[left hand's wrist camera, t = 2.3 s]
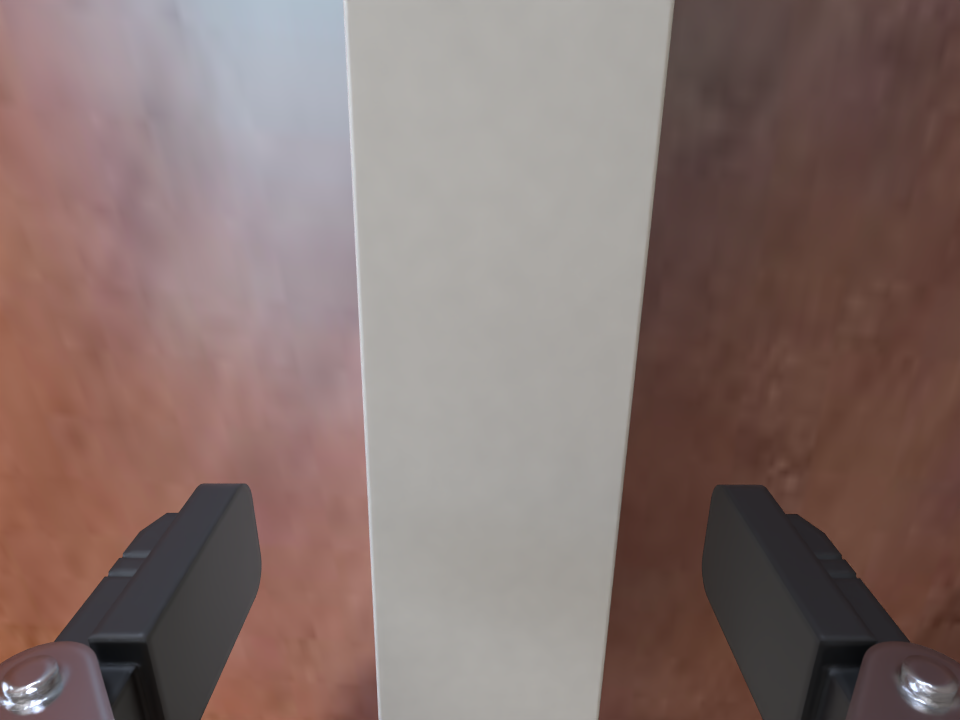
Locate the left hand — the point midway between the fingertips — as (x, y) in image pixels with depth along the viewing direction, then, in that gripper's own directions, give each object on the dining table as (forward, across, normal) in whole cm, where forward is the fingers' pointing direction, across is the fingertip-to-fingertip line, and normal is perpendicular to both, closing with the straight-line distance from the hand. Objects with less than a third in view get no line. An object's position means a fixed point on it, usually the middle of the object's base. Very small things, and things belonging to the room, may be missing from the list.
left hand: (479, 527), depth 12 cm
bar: (+9, 0, -17) cm, 19 cm away
